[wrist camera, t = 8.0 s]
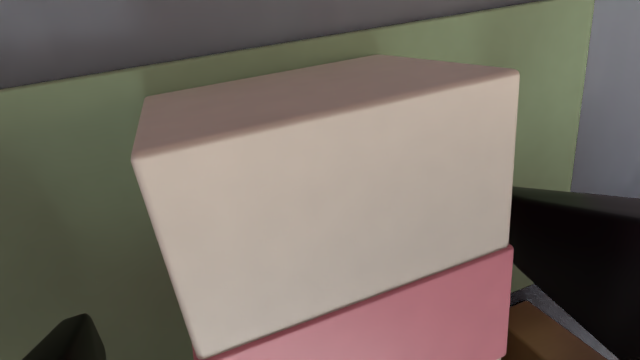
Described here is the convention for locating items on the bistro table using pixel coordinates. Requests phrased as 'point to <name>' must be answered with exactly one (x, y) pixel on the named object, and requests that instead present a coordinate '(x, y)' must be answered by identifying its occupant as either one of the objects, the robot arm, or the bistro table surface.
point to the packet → (337, 209)
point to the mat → (139, 82)
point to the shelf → (542, 337)
